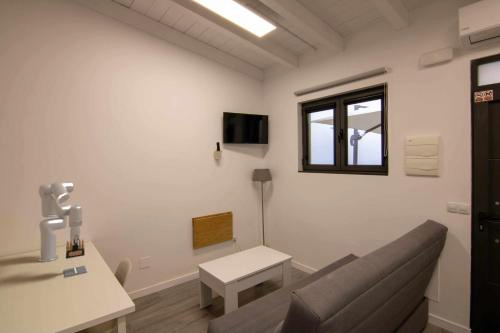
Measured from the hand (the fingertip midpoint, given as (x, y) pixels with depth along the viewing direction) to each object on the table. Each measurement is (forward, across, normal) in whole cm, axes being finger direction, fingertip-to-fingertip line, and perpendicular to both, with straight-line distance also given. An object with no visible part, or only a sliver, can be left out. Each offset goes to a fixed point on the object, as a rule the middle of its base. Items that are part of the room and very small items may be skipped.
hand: (75, 250), depth 174 cm
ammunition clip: (+5, 0, 0) cm, 5 cm away
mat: (+15, 0, 0) cm, 15 cm away
